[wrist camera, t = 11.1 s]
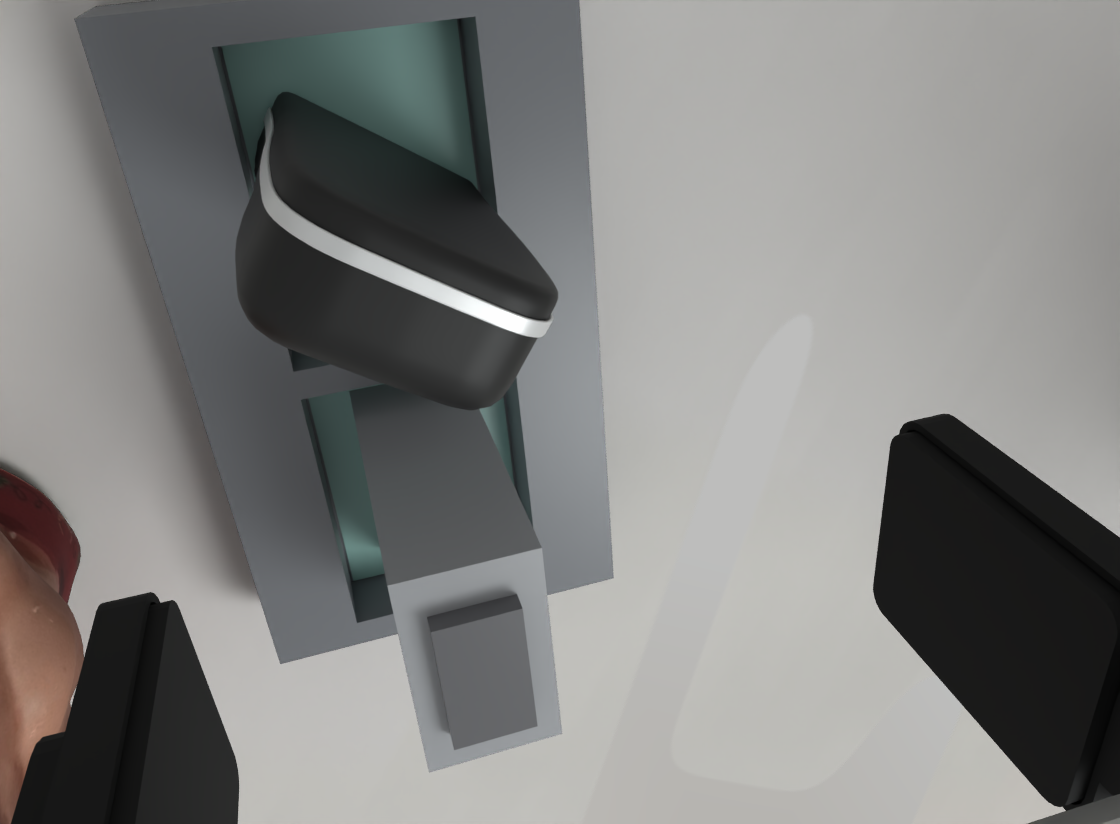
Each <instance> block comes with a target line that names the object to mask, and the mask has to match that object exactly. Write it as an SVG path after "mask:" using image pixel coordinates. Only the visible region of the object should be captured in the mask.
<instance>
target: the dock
mask: <svg viewBox="0 0 1120 824" xmlns="http://www.w3.org/2000/svg"><path fill="white" fill-rule="evenodd" d="M75 22H76V25H77V28H78V31H79V35H80V38H81V41H82V44H83V47H84V50H85V53H86V56H87V60H88V63H89V66H90V69H91V72H92V75H93V78H94V82H95V85H96V88H97V91H98V94H99V97H100V100H101V103H102V107H103V110H104V113H105V116H106V119H107V122H108V125H109V129H110V132H111V135H112V138H113V141H114V144H115V147H116V150H117V154H118V157H119V160H120V163H121V166H122V169H123V172H124V176H125V179H126V182H127V185H128V188H129V191H130V194H131V198H132V201H133V204H134V207H135V210H136V213H137V216H138V219H139V223H140V226H141V229H142V232H143V235H144V238H145V241H146V245H147V248H148V251H149V254H150V257H151V260H152V263H153V266H154V270H155V273H156V276H157V279H158V282H159V285H160V288H161V292H162V295H163V298H164V301H165V304H166V307H167V310H168V313H169V317H170V320H171V323H172V326H173V329H174V332H175V335H176V339H177V342H178V345H179V348H180V351H181V354H182V357H183V360H184V364H185V367H186V370H187V373H188V376H189V379H190V382H191V386H192V389H193V392H194V395H195V398H196V401H197V404H198V407H199V411H200V414H201V417H202V420H203V423H204V426H205V429H206V433H207V436H208V439H209V442H210V445H211V448H212V451H213V454H214V458H215V461H216V464H217V467H218V470H219V473H220V476H221V480H222V483H223V486H224V489H225V492H226V495H227V498H228V501H229V505H230V508H231V511H232V514H233V517H234V520H235V523H236V527H237V530H238V533H239V536H240V539H241V542H242V545H243V548H244V552H245V555H246V558H247V561H248V564H249V567H250V570H251V574H252V577H253V580H254V583H255V586H256V589H257V592H258V595H259V599H260V602H261V605H262V608H263V611H264V614H265V617H266V621H267V624H268V627H269V630H270V633H271V636H272V639H273V642H274V646H275V649H276V652H277V655H278V658H279V661H280V664H283V663H287V662H290V661H294V660H298V659H302V658H306V657H310V656H314V655H318V654H321V653H325V652H329V651H333V650H337V649H341V648H345V647H349V646H352V645H356V644H360V643H364V642H368V641H372V640H376V639H380V638H383V637H387V636H391V635H395V634H398V636H399V640H400V645H401V649H402V654H403V658H404V663H405V667H406V672H407V676H408V681H409V685H410V689H411V694H412V698H413V703H414V707H415V712H416V716H417V721H418V725H419V730H420V734H421V739H422V743H423V748H424V752H425V757H426V761H427V765H428V770H429V772H433V771H436V770H440V769H443V768H446V767H450V766H453V765H457V764H460V763H464V762H467V761H470V760H474V759H477V758H481V757H484V756H487V755H491V754H494V753H498V752H501V751H505V750H508V749H511V748H515V747H518V746H522V745H525V744H529V743H532V742H535V741H539V740H542V739H546V738H549V737H552V736H556V735H559V734H562V727H561V718H560V709H559V700H558V690H557V681H556V672H555V663H554V654H553V644H552V635H551V626H550V617H549V608H548V599H547V595H550V594H554V593H558V592H562V591H566V590H569V589H573V588H577V587H581V586H585V585H589V584H593V583H597V582H600V581H604V580H608V579H612V578H614V577H613V560H612V543H611V526H610V510H609V493H608V476H607V459H606V443H605V426H604V409H603V392H602V376H601V359H600V342H599V325H598V309H597V292H596V275H595V258H594V242H593V225H592V208H591V191H590V175H589V158H588V141H587V124H586V108H585V91H584V74H583V57H582V41H581V24H580V7H579V0H153V1H143V2H134V3H124V4H115V5H105V6H96V7H94V8H92V9H90V10H89V11H87V12H85V13H84V14H82V15H80V16H78V17H77V18H75ZM282 92H290V93H293V94H296V95H298V96H300V97H302V98H304V99H306V100H308V101H310V102H312V103H314V104H316V105H318V106H320V107H322V108H324V109H326V110H328V111H331V112H333V113H335V114H337V115H339V116H341V117H343V118H345V119H347V120H349V121H351V122H353V123H355V124H357V125H359V126H361V127H363V128H365V129H367V130H369V131H371V132H373V133H375V134H377V135H379V136H381V137H383V138H385V139H387V140H389V141H391V142H393V143H395V144H397V145H399V146H401V147H403V148H405V149H407V150H409V151H412V152H414V153H416V154H418V155H420V156H422V157H424V158H426V159H428V160H430V161H432V162H434V163H436V164H438V165H440V166H442V167H444V168H446V169H448V170H450V171H452V172H454V173H456V174H458V175H460V176H462V177H464V178H466V179H468V180H469V181H470V182H472V183H473V185H474V186H475V187H476V189H477V190H478V191H479V192H480V194H481V195H482V196H483V198H484V199H485V200H486V202H487V203H488V204H489V205H490V206H491V207H492V209H493V210H494V211H495V212H496V213H497V214H498V215H499V216H500V217H501V218H502V219H503V221H504V222H505V223H506V224H507V225H508V226H509V227H510V229H511V230H512V231H513V232H514V233H515V234H516V235H517V236H518V238H519V239H520V240H521V241H522V242H523V243H524V245H525V246H526V247H527V248H528V249H529V251H530V252H531V253H532V254H533V256H534V257H535V258H536V259H537V261H538V262H539V263H540V265H541V266H542V267H543V269H544V270H545V271H546V273H547V274H548V275H549V277H550V278H551V279H552V281H553V283H554V284H555V286H556V288H557V290H558V301H557V303H556V306H555V307H554V309H553V311H552V315H553V321H552V323H551V325H550V327H549V328H548V330H547V332H546V334H545V335H544V336H542V337H539V338H537V340H536V342H535V344H534V346H533V347H532V349H531V351H530V353H529V355H528V356H527V358H526V360H525V362H524V364H523V365H522V367H521V369H520V371H519V373H518V375H517V376H516V378H515V380H514V382H513V384H512V385H511V386H510V388H509V389H508V391H507V392H506V393H505V395H504V396H503V398H502V399H500V400H499V401H498V402H496V403H495V404H493V405H492V406H490V407H486V408H481V409H477V410H471V411H470V410H464V409H459V408H454V407H449V406H446V405H443V404H440V403H437V402H434V401H431V400H428V399H426V398H423V397H420V396H417V395H414V394H411V393H409V392H406V391H403V390H400V389H397V388H394V387H391V386H389V385H386V384H383V383H380V382H377V381H374V380H372V379H369V378H366V377H363V376H361V375H358V374H355V373H353V372H350V371H347V370H344V369H342V368H339V367H336V366H334V365H331V364H328V363H325V362H323V361H320V360H317V359H315V358H312V357H309V356H306V355H304V354H301V353H298V352H296V351H293V350H291V349H288V348H286V347H284V346H282V345H280V344H278V343H275V342H273V341H272V340H271V339H269V338H268V337H266V336H265V335H264V334H262V333H261V332H260V331H258V330H257V329H256V328H255V327H254V326H253V325H252V324H251V323H250V322H249V320H248V319H247V317H246V315H245V313H244V311H243V309H242V307H241V305H240V302H239V299H238V294H237V282H236V264H235V249H236V240H237V235H238V231H239V228H240V224H241V221H242V217H243V215H244V212H245V210H246V207H247V205H248V203H249V200H250V198H251V195H252V193H253V190H254V185H255V180H256V177H255V171H254V169H255V156H256V151H257V144H258V140H259V138H260V135H261V133H262V130H263V128H264V121H263V119H264V117H265V114H266V112H267V110H268V108H269V107H271V108H272V106H273V104H274V101H275V99H276V98H277V96H278V95H279V94H281V93H282Z"/></svg>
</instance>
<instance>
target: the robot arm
mask: <svg viewBox="0 0 1120 824" xmlns="http://www.w3.org/2000/svg"><path fill="white" fill-rule="evenodd" d="M873 592H874V597H875V600H876V603H877V605H878V607H879V609H880V611H881V612H882V614H883V615H884V616H885V617H886V618H887V619H888V621H889V622H890V623H891V624H892V625H893V626H894V627H895V629H896V630H897V631H898V632H899V633H900V634H901V635H902V637H903V638H904V639H905V640H906V641H907V642H908V643H909V645H910V646H911V647H912V648H913V649H914V650H915V651H916V653H917V654H918V655H919V656H920V657H921V658H922V659H923V661H924V662H925V663H926V664H927V665H928V666H929V667H930V669H931V670H932V671H933V672H934V673H935V674H936V675H937V677H938V678H939V679H940V680H941V681H942V682H943V683H944V684H945V686H946V687H947V688H948V689H949V690H950V691H951V693H952V694H953V695H954V696H955V697H956V698H957V699H958V700H959V702H960V703H961V704H962V705H963V706H964V707H965V709H966V710H967V711H968V712H969V713H970V714H971V715H972V717H973V718H974V719H975V720H976V721H977V722H978V723H979V725H980V726H981V727H982V728H983V729H984V730H985V731H986V733H987V734H988V735H989V736H990V737H991V738H992V739H993V741H994V742H995V743H996V744H997V745H998V746H999V747H1000V749H1001V750H1002V751H1003V752H1004V753H1005V754H1006V755H1007V757H1008V758H1009V759H1010V760H1011V761H1012V762H1013V763H1014V765H1015V766H1016V767H1017V768H1018V769H1019V770H1020V771H1021V773H1022V774H1023V775H1024V776H1025V777H1026V778H1027V779H1028V781H1029V782H1030V783H1031V784H1032V785H1033V786H1034V787H1035V788H1036V790H1037V791H1038V792H1039V793H1040V794H1041V795H1042V796H1043V797H1044V798H1045V799H1046V800H1047V801H1048V802H1049V803H1051V804H1052V805H1054V806H1058V807H1063V808H1064V809H1065V810H1066V811H1065V812H1062V813H1059V814H1056V815H1053V816H1049V817H1046V818H1043V819H1040V820H1037V821H1034V822H1031V823H1028V824H1120V537H1118V536H1117V535H1115V534H1114V533H1113V532H1111V531H1110V530H1109V529H1107V528H1106V527H1105V526H1103V525H1102V524H1100V523H1099V522H1098V521H1096V520H1095V519H1094V518H1092V517H1091V516H1089V515H1088V514H1087V513H1085V512H1084V511H1083V510H1081V509H1080V508H1079V507H1077V506H1076V505H1074V504H1073V503H1072V502H1070V501H1069V500H1068V499H1066V498H1065V497H1063V496H1062V495H1061V494H1059V493H1058V492H1057V491H1055V490H1054V489H1053V488H1051V487H1050V486H1048V485H1047V484H1046V483H1044V482H1043V481H1042V480H1040V479H1039V478H1037V477H1036V476H1035V475H1033V474H1032V473H1031V472H1029V471H1028V470H1027V469H1025V468H1024V467H1022V466H1021V465H1020V464H1018V463H1017V462H1016V461H1014V460H1013V459H1012V458H1010V457H1009V456H1007V455H1006V454H1005V453H1003V452H1002V451H1001V450H999V449H998V448H996V447H995V446H994V445H992V444H991V443H990V442H988V441H987V440H986V439H984V438H983V437H981V436H980V435H979V434H977V433H976V432H975V431H973V430H972V429H970V428H969V427H968V426H966V425H965V424H964V423H962V422H961V421H960V420H958V419H957V418H955V417H954V416H952V415H950V414H940V415H936V416H932V417H927V418H923V419H918V420H914V421H909V422H907V423H905V424H904V425H903V426H902V428H901V429H900V433H899V435H897V436H895V437H894V438H893V439H892V441H891V445H890V452H889V461H888V469H887V477H886V485H885V494H884V502H883V510H882V518H881V526H880V535H879V543H878V551H877V559H876V568H875V576H874V584H873ZM238 801H239V776H238V768H237V763H236V759H235V756H234V752H233V750H232V747H231V744H230V742H229V739H228V737H227V734H226V731H225V729H224V726H223V723H222V721H221V718H220V715H219V713H218V710H217V707H216V705H215V702H214V699H213V697H212V694H211V691H210V689H209V686H208V684H207V681H206V678H205V676H204V673H203V670H202V668H201V665H200V662H199V660H198V657H197V654H196V652H195V649H194V646H193V644H192V641H191V638H190V636H189V633H188V631H187V628H186V625H185V623H184V620H183V617H182V615H181V612H180V609H179V607H178V605H177V603H176V602H175V601H173V600H171V601H167V602H162V603H160V601H159V599H158V597H157V596H156V595H155V594H154V593H152V592H150V593H145V594H141V595H137V596H132V597H128V598H123V599H119V600H114V601H110V602H106V603H102V604H101V605H99V606H98V609H97V611H96V615H95V618H94V622H93V626H92V630H91V634H90V638H89V641H88V645H87V649H86V653H85V657H84V661H83V665H82V668H81V672H80V676H79V680H78V684H77V688H76V691H75V695H74V699H73V703H72V707H71V711H70V714H69V718H68V722H67V726H66V730H65V732H61V733H57V734H53V735H49V736H44V737H42V738H41V739H40V740H39V741H38V742H37V743H36V745H35V747H34V749H33V752H32V754H31V757H30V760H29V763H28V767H27V770H26V774H25V777H24V780H23V784H22V787H21V791H20V794H19V797H18V801H17V804H16V808H15V811H14V814H13V818H12V821H11V824H238Z"/></svg>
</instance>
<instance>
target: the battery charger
mask: <svg viewBox="0 0 1120 824" xmlns="http://www.w3.org/2000/svg"><path fill="white" fill-rule="evenodd" d="M263 121H264V128H263V130H262V133H261V135H260V138H259V140H258V144H257V151H256V156H255V169H254V171H255V177H256V180H255V185H254V190H253V193H252V195H251V198H250V200H249V203H248V205H247V207H246V210H245V212H244V215H243V217H242V221H241V224H240V228H239V231H238V235H237V240H236V249H235V264H236V282H237V294H238V299H239V302H240V305H241V307H242V309H243V311H244V313H245V315H246V317H247V319H248V320H249V322H250V323H251V324H252V325H253V326H254V327H255V328H256V329H257V330H258V331H260V332H261V333H262V334H264V335H265V336H266V337H268V338H269V339H271V340H272V341H273V342H275V343H278V344H280V345H282V346H284V347H286V348H288V349H291V350H293V351H296V352H298V353H301V354H304V355H306V356H309V357H312V358H315V359H317V360H320V361H323V362H325V363H328V364H331V365H334V366H336V367H339V368H342V369H344V370H347V371H350V372H353V373H355V374H358V375H361V376H363V377H366V378H369V379H372V380H374V381H377V382H380V383H383V384H386V385H389V386H391V387H394V388H397V389H400V390H403V391H406V392H409V393H411V394H414V395H417V396H420V397H423V398H426V399H428V400H431V401H434V402H437V403H440V404H443V405H446V406H449V407H454V408H459V409H464V410H470V411H471V410H477V409H481V408H486V407H490V406H492V405H493V404H495V403H496V402H498V401H499V400H500V399H502V398H503V396H504V395H505V393H506V392H507V391H508V389H509V388H510V386H511V385H512V384H513V382H514V380H515V378H516V376H517V375H518V373H519V371H520V369H521V367H522V365H523V364H524V362H525V360H526V358H527V356H528V355H529V353H530V351H531V349H532V347H533V346H534V344H535V342H536V340H537V338H539V337H542V336H544V335H545V334H546V332H547V330H548V328H549V327H550V325H551V323H552V321H553V315H552V311H553V309H554V307H555V306H556V303H557V301H558V290H557V288H556V286H555V284H554V283H553V281H552V279H551V278H550V277H549V275H548V274H547V273H546V271H545V270H544V269H543V267H542V266H541V265H540V263H539V262H538V261H537V259H536V258H535V257H534V256H533V254H532V253H531V252H530V251H529V249H528V248H527V247H526V246H525V245H524V243H523V242H522V241H521V240H520V239H519V238H518V236H517V235H516V234H515V233H514V232H513V231H512V230H511V229H510V227H509V226H508V225H507V224H506V223H505V222H504V221H503V219H502V218H501V217H500V216H499V215H498V214H497V213H496V212H495V211H494V210H493V209H492V207H491V206H490V205H489V204H488V203H487V202H486V200H485V199H484V198H483V196H482V195H481V194H480V192H479V191H478V190H477V189H476V187H475V186H474V185H473V183H472V182H470V181H469V180H468V179H466V178H464V177H462V176H460V175H458V174H456V173H454V172H452V171H450V170H448V169H446V168H444V167H442V166H440V165H438V164H436V163H434V162H432V161H430V160H428V159H426V158H424V157H422V156H420V155H418V154H416V153H414V152H412V151H409V150H407V149H405V148H403V147H401V146H399V145H397V144H395V143H393V142H391V141H389V140H387V139H385V138H383V137H381V136H379V135H377V134H375V133H373V132H371V131H369V130H367V129H365V128H363V127H361V126H359V125H357V124H355V123H353V122H351V121H349V120H347V119H345V118H343V117H341V116H339V115H337V114H335V113H333V112H331V111H328V110H326V109H324V108H322V107H320V106H318V105H316V104H314V103H312V102H310V101H308V100H306V99H304V98H302V97H300V96H298V95H296V94H293V93H290V92H282V93H281V94H279V95H278V96H277V98H276V99H275V101H274V104H273V106H272V108H271V107H269V108H268V110H267V112H266V114H265V117H264V119H263Z"/></svg>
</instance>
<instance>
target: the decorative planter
mask: <svg viewBox="0 0 1120 824" xmlns="http://www.w3.org/2000/svg"><path fill="white" fill-rule="evenodd" d="M80 557H81V553H80V545H79V542H78V539H77V537H76V535H75V533H74V531H73V530H72V528H71V527H70V526H69V524H68V523H67V521H66V520H65V518H64V517H63V516H62V514H61V513H60V511H59V510H58V509H57V508H56V506H55V505H54V504H53V503H52V502H51V501H50V500H49V499H48V498H47V497H46V496H45V495H44V494H43V493H42V492H40V491H39V490H38V489H36V488H35V487H33V486H32V485H30V484H29V483H27V482H25V481H24V480H22V479H20V478H18V477H17V476H15V475H13V474H11V473H9V472H7V471H5V470H3V469H1V468H0V824H11V821H12V818H13V814H14V811H15V808H16V804H17V801H18V797H19V794H20V791H21V787H22V784H23V780H24V777H25V774H26V770H27V767H28V763H29V760H30V757H31V754H32V752H33V749H34V747H35V745H36V743H37V742H38V741H39V740H40V739H41V738H42V737H44V736H49V735H53V734H57V733H61V732H65V730H66V726H67V722H68V718H69V714H70V711H71V705H70V700H71V697H72V695H73V693H74V690H75V688H76V686H77V683H78V680H79V676H80V672H81V668H82V665H83V661H84V654H83V644H82V639H81V635H80V632H79V629H78V625H77V623H76V620H75V618H74V615H73V613H72V612H71V610H70V608H69V606H68V600H69V596H70V592H71V588H72V584H73V581H74V578H75V575H76V572H77V569H78V566H79V563H80Z"/></svg>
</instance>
